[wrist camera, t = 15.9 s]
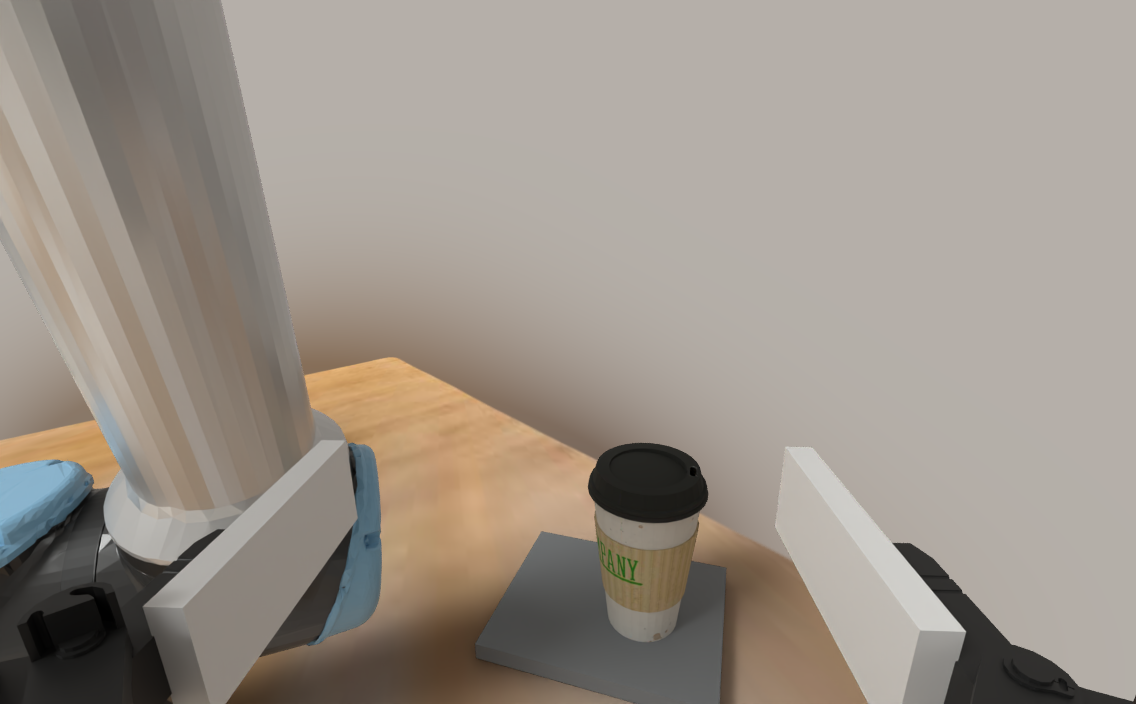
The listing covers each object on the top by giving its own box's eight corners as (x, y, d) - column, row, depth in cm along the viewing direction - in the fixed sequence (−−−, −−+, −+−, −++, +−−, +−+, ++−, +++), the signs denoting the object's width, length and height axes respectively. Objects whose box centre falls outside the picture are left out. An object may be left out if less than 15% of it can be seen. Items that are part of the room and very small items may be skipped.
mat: (476, 657, 45) (475, 644, 44) (541, 542, 59) (541, 531, 59) (717, 726, 39) (719, 711, 38) (725, 580, 53) (726, 567, 53)
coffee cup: (597, 569, 53) (598, 435, 49) (696, 583, 51) (707, 444, 46) (578, 649, 44) (577, 492, 39) (698, 670, 42) (712, 507, 37)
